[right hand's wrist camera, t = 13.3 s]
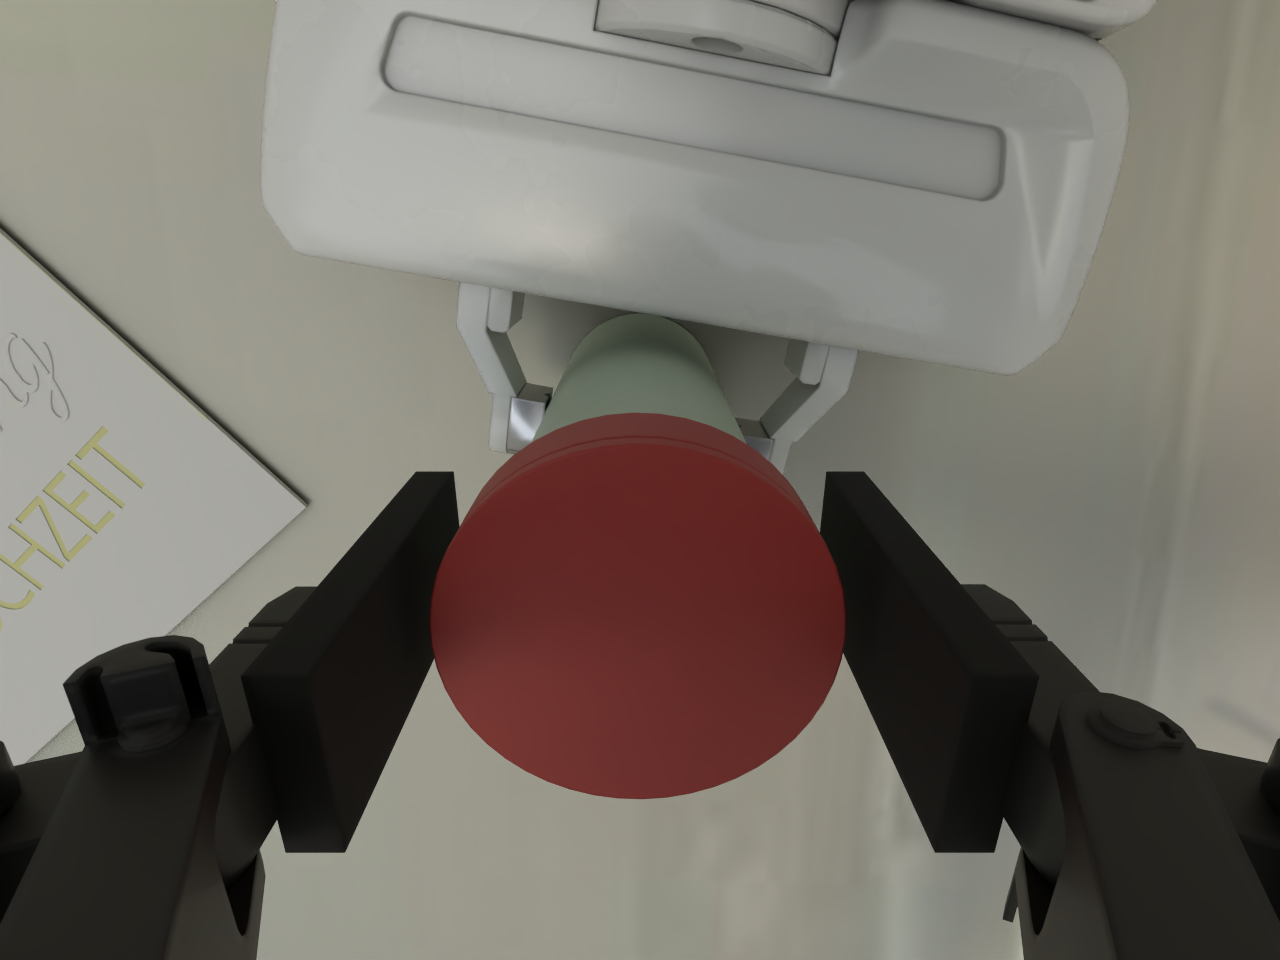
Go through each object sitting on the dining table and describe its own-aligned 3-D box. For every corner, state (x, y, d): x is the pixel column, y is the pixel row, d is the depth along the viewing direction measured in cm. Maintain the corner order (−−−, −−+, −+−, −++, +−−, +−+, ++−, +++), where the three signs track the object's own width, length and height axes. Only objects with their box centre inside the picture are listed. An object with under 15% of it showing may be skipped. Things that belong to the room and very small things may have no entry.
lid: (555, 339, 11) (540, 361, 9) (894, 520, 12) (933, 569, 10) (401, 646, 13) (367, 708, 11) (702, 777, 14) (710, 849, 12)
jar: (608, 284, 25) (559, 397, 10) (740, 359, 26) (880, 565, 11) (541, 416, 26) (411, 682, 11) (667, 481, 27) (699, 803, 12)
